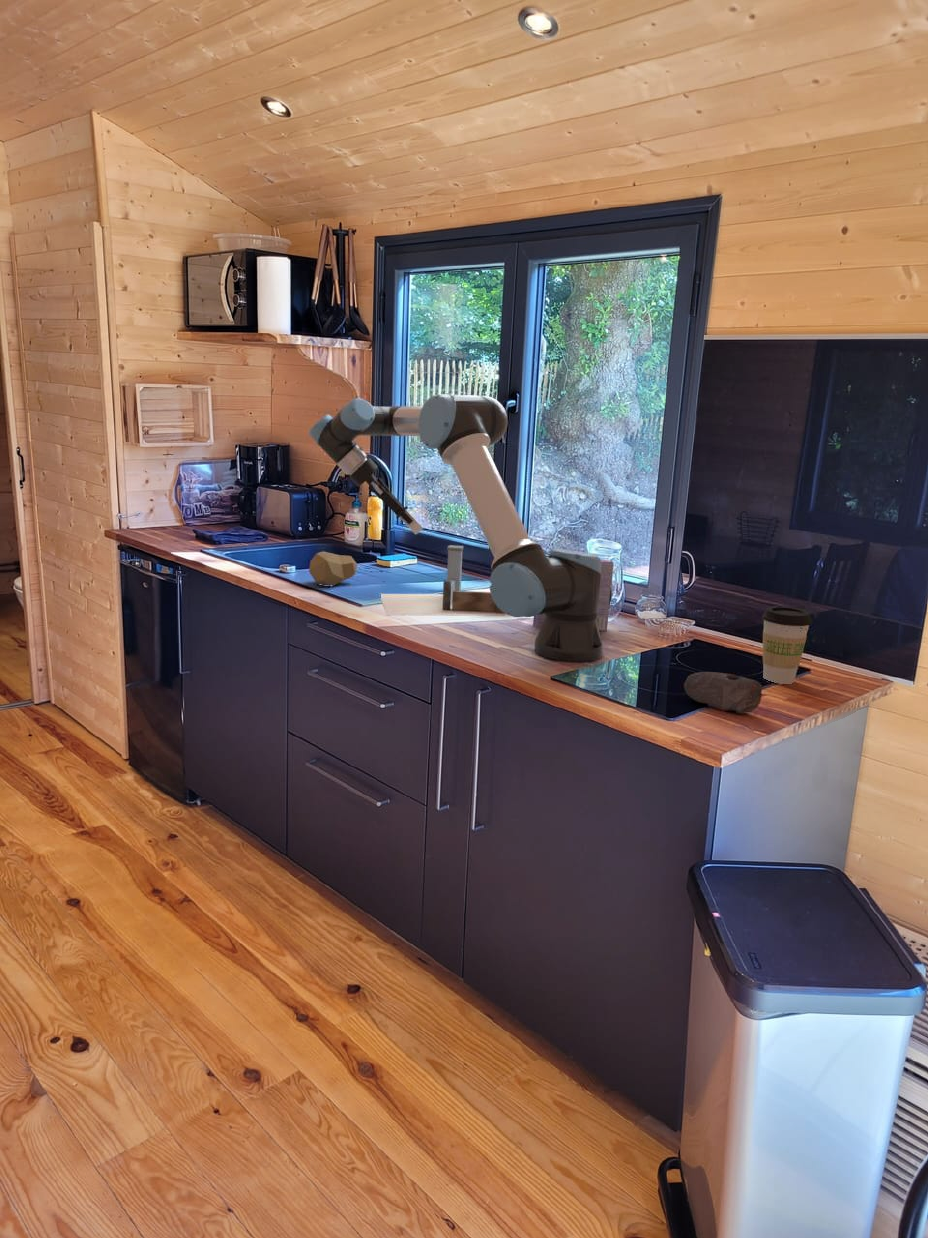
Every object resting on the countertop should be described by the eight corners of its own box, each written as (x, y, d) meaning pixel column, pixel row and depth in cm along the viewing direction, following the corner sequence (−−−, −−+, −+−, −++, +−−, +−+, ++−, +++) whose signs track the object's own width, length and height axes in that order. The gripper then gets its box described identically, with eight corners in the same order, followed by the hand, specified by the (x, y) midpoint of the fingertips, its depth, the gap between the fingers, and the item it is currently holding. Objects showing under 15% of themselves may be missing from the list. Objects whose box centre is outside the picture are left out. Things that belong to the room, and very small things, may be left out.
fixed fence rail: (442, 610, 238) (443, 580, 236) (442, 608, 241) (443, 578, 239) (507, 613, 238) (509, 583, 236) (507, 611, 241) (509, 581, 239)
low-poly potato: (304, 590, 258) (338, 575, 254) (295, 554, 261) (328, 539, 256) (334, 595, 272) (366, 581, 268) (325, 561, 274) (357, 547, 270)
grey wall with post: (454, 607, 241) (456, 555, 238) (439, 606, 241) (441, 554, 238) (461, 595, 256) (463, 546, 253) (447, 594, 256) (449, 545, 253)
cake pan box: (605, 626, 233) (611, 557, 228) (612, 631, 228) (618, 561, 224) (531, 626, 230) (536, 556, 225) (536, 631, 225) (541, 560, 221)
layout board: (518, 617, 237) (518, 615, 237) (386, 617, 231) (386, 614, 231) (499, 596, 260) (499, 594, 260) (378, 595, 254) (379, 593, 254)
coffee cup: (776, 689, 188) (786, 618, 185) (744, 675, 197) (752, 606, 193) (813, 685, 192) (823, 615, 188) (780, 671, 201) (789, 604, 197)
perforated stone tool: (676, 700, 179) (680, 666, 177) (690, 694, 182) (694, 661, 181) (748, 721, 169) (752, 685, 167) (761, 715, 173) (766, 679, 171)
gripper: (368, 458, 237) (430, 525, 243) (369, 454, 250) (428, 518, 255) (347, 478, 238) (409, 544, 243) (349, 473, 250) (408, 536, 256)
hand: (419, 530), depth 249 cm, fingers closed
